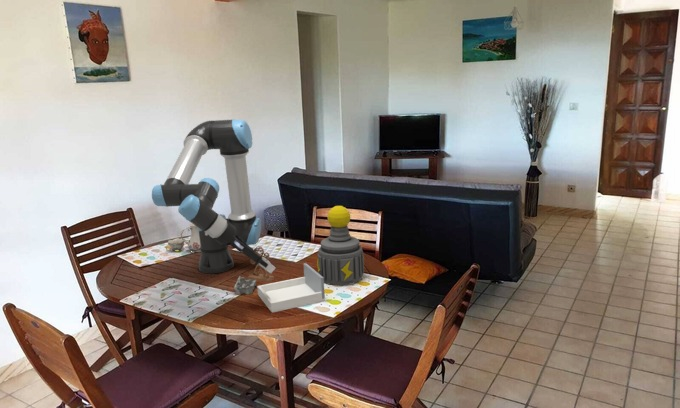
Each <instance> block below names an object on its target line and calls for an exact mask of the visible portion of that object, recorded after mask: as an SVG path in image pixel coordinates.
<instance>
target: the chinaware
mask: <svg viewBox="0 0 680 408" xmlns="http://www.w3.org/2000/svg"><path fill="white" fill-rule="evenodd" d="M185 230H187V232H190V238H189V239H186V238H183V232H184V231H185ZM198 230H199V228H198V227H197V226H195V225H194V224H193V223H189V226H188V227H184V228H183V229H181V232H180V237H179V238H178V237H175V238H174V239H169V240H168V241H167V245H165V249H166V251H171V252H174V251H175V250H182V249H183V247H184V246H185V245H187V249H188V250H189V251H192V252H201V246H200V238H199V231H198ZM168 246H169V247H170V249H168ZM192 252H191V253H192Z"/></svg>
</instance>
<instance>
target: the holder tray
mask: <svg viewBox="0 0 680 408" xmlns="http://www.w3.org/2000/svg"><path fill="white" fill-rule="evenodd" d="M256 288H257V289H256V290H257V296H258V297H259V298H260V300H261V301H262V302H263V304H264V305H265V306H266V307H267V309H268V310H269V311H270V312H271V313H277V312H282V311H285V310H290V309H291V310H292V309H295V308H299V307H304V306H309V305H313V304H317V303H321V302H325V301H326V297H325V283H324V277H322V276H321V275H320V274H319V273H318V271H316V270H315V269H314V268H313V267H311V266H310V265H309V264H307V262H305V263H303V276H302V277H301V276H300V277H297V278H291V279H286V280H281V281H276V282H271V283H270V282H269V283H265V284H262V285H260V284H259V285H256Z"/></svg>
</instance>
